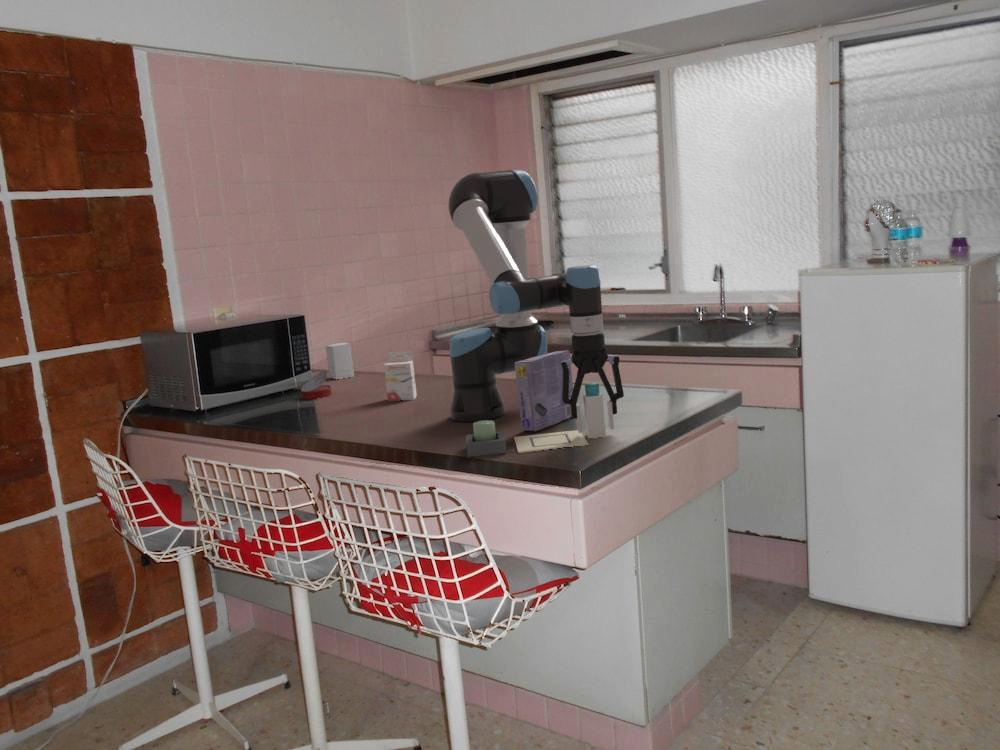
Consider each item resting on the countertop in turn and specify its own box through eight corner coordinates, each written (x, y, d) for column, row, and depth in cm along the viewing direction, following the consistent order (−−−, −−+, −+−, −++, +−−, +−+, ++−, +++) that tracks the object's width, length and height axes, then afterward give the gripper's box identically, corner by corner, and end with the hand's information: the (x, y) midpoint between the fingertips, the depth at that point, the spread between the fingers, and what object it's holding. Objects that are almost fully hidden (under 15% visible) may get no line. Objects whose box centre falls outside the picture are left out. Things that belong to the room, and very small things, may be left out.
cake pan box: (563, 414, 237) (558, 348, 234) (579, 415, 234) (573, 348, 230) (519, 431, 222) (512, 362, 219) (535, 433, 219) (528, 362, 216)
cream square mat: (514, 438, 216) (514, 436, 216) (580, 431, 216) (579, 429, 216) (518, 453, 202) (518, 451, 202) (588, 445, 202) (588, 443, 202)
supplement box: (355, 376, 333) (350, 343, 331) (336, 380, 329) (331, 346, 327) (347, 374, 339) (343, 342, 337) (329, 378, 336) (324, 345, 333)
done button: (474, 440, 210) (472, 421, 209) (495, 438, 210) (494, 419, 209) (475, 445, 205) (473, 426, 204) (496, 443, 205) (494, 424, 204)
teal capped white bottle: (586, 434, 212) (582, 383, 210) (603, 433, 212) (598, 381, 210) (588, 439, 208) (584, 386, 206) (605, 437, 209) (601, 384, 206)
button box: (467, 447, 212) (465, 435, 211) (504, 443, 212) (503, 430, 212) (467, 457, 203) (466, 444, 203) (506, 452, 203) (505, 440, 203)
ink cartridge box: (387, 402, 278) (381, 355, 275) (390, 398, 283) (385, 352, 280) (414, 399, 277) (408, 353, 274) (417, 396, 282) (412, 350, 279)
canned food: (330, 410, 298) (326, 387, 291) (300, 410, 298) (295, 387, 292) (335, 389, 307) (332, 366, 300) (306, 389, 307) (302, 366, 301)
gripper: (546, 339, 202) (555, 438, 206) (633, 330, 203) (640, 428, 207) (543, 335, 210) (552, 430, 214) (626, 326, 210) (634, 421, 214)
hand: (595, 429), depth 210 cm, fingers open, 7 cm apart
